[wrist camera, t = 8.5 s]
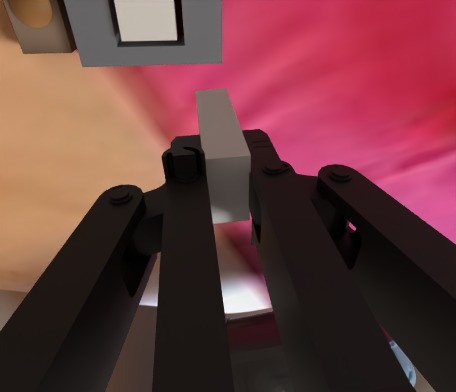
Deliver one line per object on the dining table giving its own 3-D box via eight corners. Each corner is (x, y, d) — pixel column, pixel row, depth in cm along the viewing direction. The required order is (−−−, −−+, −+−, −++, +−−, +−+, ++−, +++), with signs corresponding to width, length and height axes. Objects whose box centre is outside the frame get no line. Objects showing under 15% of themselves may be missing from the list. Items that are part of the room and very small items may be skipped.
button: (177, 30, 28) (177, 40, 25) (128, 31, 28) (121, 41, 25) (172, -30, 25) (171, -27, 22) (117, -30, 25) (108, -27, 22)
